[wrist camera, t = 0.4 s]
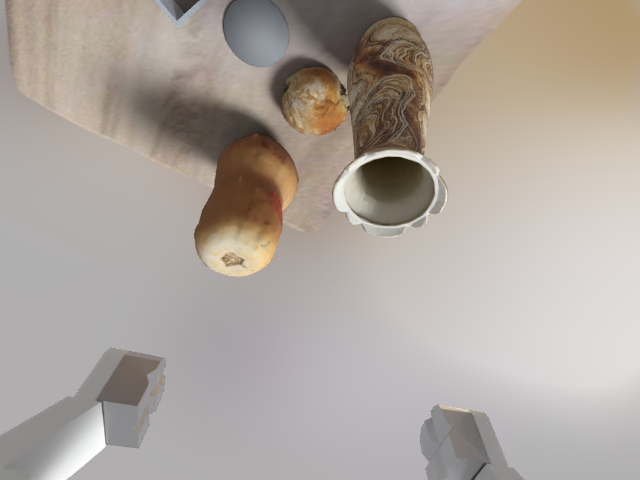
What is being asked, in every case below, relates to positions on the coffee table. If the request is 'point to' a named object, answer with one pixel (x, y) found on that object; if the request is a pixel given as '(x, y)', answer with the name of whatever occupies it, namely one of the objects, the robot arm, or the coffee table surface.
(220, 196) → the butternut squash
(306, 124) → the bread roll
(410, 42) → the vase
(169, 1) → the grey square frame
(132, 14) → the coffee table surface
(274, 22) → the pad
